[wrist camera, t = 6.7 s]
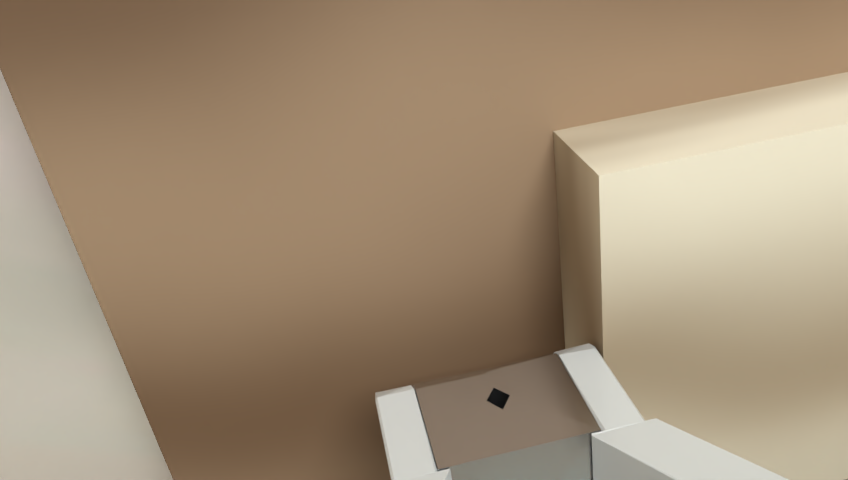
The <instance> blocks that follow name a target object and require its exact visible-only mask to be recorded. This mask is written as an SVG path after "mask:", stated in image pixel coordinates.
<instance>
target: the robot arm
mask: <svg viewBox="0 0 848 480" xmlns="http://www.w3.org/2000/svg"><path fill="white" fill-rule="evenodd" d="M375 402H376V406H377V411H378V416H379V421H380V426H381V431H382V436H383V441H384V446H385V451H386V456H387V461H388V466H389V471H390V476H391V480H789V479H787V478H784V477H782V476H780V475H778V474H776V473H774V472H771V471H769V470H767V469H765V468H763V467H761V466H758V465H756V464H754V463H752V462H750V461H748V460H745V459H743V458H741V457H739V456H737V455H735V454H732V453H730V452H728V451H726V450H724V449H722V448H719V447H717V446H715V445H713V444H711V443H709V442H706V441H704V440H702V439H700V438H698V437H696V436H693V435H691V434H689V433H687V432H685V431H683V430H680V429H678V428H676V427H674V426H672V425H670V424H667V423H665V422H663V421H661V420H659V419H657V418H655V419H651V420H646V421H645V420H644V418H643V417H642V415H641V414H640V412H639V411H638V409H637V408H636V406H635V405H634V403H633V402H632V400H631V399H630V397H629V396H628V395H627V393H626V392H625V390H624V389H623V387H622V386H621V384H620V383H619V381H618V380H617V378H616V377H615V375H614V374H613V372H612V371H611V369H610V368H609V367H608V365H607V364H606V362H605V361H604V359H603V358H602V356H601V355H600V353H599V352H598V350H597V349H596V347H595V346H593V345H591V344H589V343H587V344H584V345H580V346H576V347H572V348H568V349H564V350H560V351H556V352H554V353H553V354H548V355H544V356H540V357H535V358H531V359H527V360H523V361H519V362H514V363H510V364H506V365H502V366H498V367H493V368H489V369H484V370H479V371H474V372H469V373H464V374H460V375H455V376H450V377H445V378H440V379H435V380H431V381H426V382H421V383H416V384H413V387H412V386H411V385H409V386H404V387H400V388H395V389H390V390H386V391H381V392H376V393H375Z"/></svg>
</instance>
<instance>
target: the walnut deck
mask: <svg viewBox="0 0 848 480" xmlns="http://www.w3.org/2000/svg"><path fill="white" fill-rule="evenodd" d="M0 69H1V71H2V74H3V76H4V79H5V81H6V83H7V86H8V88H9V90H10V93H11V95H12V98H13V100H14V102H15V105H16V107H17V109H18V112H19V114H20V117H21V119H22V121H23V124H24V126H25V128H26V131H27V133H28V136H29V138H30V140H31V143H32V145H33V147H34V150H35V152H36V155H37V157H38V159H39V162H40V164H41V166H42V169H43V171H44V174H45V176H46V178H47V181H48V183H49V185H50V188H51V190H52V193H53V195H54V197H55V200H56V202H57V204H58V207H59V209H60V212H61V214H62V216H63V219H64V221H65V223H66V226H67V228H68V231H69V233H70V235H71V238H72V240H73V242H74V245H75V247H76V250H77V252H78V254H79V257H80V259H81V261H82V264H83V266H84V269H85V271H86V273H87V276H88V278H89V280H90V283H91V285H92V288H93V290H94V292H95V295H96V297H97V299H98V302H99V304H100V307H101V309H102V311H103V314H104V316H105V318H106V321H107V323H108V326H109V328H110V330H111V333H112V335H113V337H114V340H115V342H116V345H117V347H118V349H119V352H120V354H121V356H122V359H123V361H124V364H125V366H126V368H127V371H128V373H129V375H130V378H131V380H132V383H133V385H134V387H135V390H136V392H137V394H138V397H139V399H140V402H141V404H142V406H143V409H144V411H145V413H146V416H147V418H148V421H149V423H150V425H151V428H152V430H153V432H154V435H155V437H156V440H157V442H158V444H159V447H160V449H161V451H162V454H163V456H164V459H165V461H166V463H167V466H168V468H169V470H170V473H171V475H172V478H173V480H391V476H390V471H389V466H388V461H387V456H386V451H385V446H384V441H383V436H382V431H381V426H380V421H379V416H378V411H377V406H376V402H375V393H376V392H381V391H386V390H390V389H395V388H400V387H404V386H409V385H411V386H412V387H413V384H416V383H421V382H426V381H431V380H435V379H440V378H445V377H450V376H455V375H460V374H464V373H469V372H474V371H479V370H484V369H489V368H493V367H498V366H502V365H506V364H510V363H514V362H519V361H523V360H527V359H531V358H535V357H540V356H544V355H548V354H553V353H554V352H556V351H560V350H564V349H565V336H564V318H563V300H562V281H561V263H560V245H559V227H558V208H557V190H556V172H555V154H554V135H553V131H557V130H562V129H567V128H571V127H576V126H581V125H586V124H591V123H596V122H601V121H606V120H611V119H616V118H621V117H626V116H631V115H636V114H641V113H646V112H651V111H656V110H661V109H666V108H671V107H676V106H681V105H686V104H691V103H696V102H701V101H706V100H711V99H716V98H721V97H726V96H731V95H736V94H741V93H746V92H751V91H755V90H760V89H765V88H770V87H775V86H780V85H785V84H790V83H795V82H800V81H805V80H810V79H815V78H820V77H825V76H830V75H835V74H840V73H845V72H848V0H0ZM845 480H848V479H845Z"/></svg>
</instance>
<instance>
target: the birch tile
mask: <svg viewBox="0 0 848 480" xmlns="http://www.w3.org/2000/svg"><path fill="white" fill-rule="evenodd" d="M553 135H554V154H555V172H556V190H557V208H558V227H559V245H560V263H561V281H562V300H563V318H564V336H565V349H568V348H572V347H576V346H580V345H584V344H587V343H589V344H591V345H593V346H595V347H596V349H597V350H598V352H599V353H600V355H601V356H602V358H603V359H604V361H605V362H606V364H607V365H608V367H609V368H610V369H611V371H612V372H613V374H614V375H615V377H616V378H617V380H618V381H619V383H620V384H621V386H622V387H623V389H624V390H625V392H626V393H627V395H628V396H629V397H630V399H631V400H632V402H633V403H634V405H635V406H636V408H637V409H638V411H639V412H640V414H641V415H642V417H643V418H644V420H645V421H646V420H651V419H655V418H657V419H659V420H661V421H663V422H665V423H667V424H670V425H672V426H674V427H676V428H678V429H680V430H683V431H685V432H687V433H689V434H691V435H693V436H696V437H698V438H700V439H702V440H704V441H706V442H709V443H711V444H713V445H715V446H717V447H719V448H722V449H724V450H726V451H728V452H730V453H732V454H735V455H737V456H739V457H741V458H743V459H745V460H748V461H750V462H752V463H754V464H756V465H758V466H761V467H763V468H765V469H767V470H769V471H771V472H774V473H776V474H778V475H780V476H782V477H784V478H787V479H789V480H845V479H848V72H845V73H840V74H835V75H830V76H825V77H820V78H815V79H810V80H805V81H800V82H795V83H790V84H785V85H780V86H775V87H770V88H765V89H760V90H755V91H751V92H746V93H741V94H736V95H731V96H726V97H721V98H716V99H711V100H706V101H701V102H696V103H691V104H686V105H681V106H676V107H671V108H666V109H661V110H656V111H651V112H646V113H641V114H636V115H631V116H626V117H621V118H616V119H611V120H606V121H601V122H596V123H591V124H586V125H581V126H576V127H571V128H567V129H562V130H557V131H553Z"/></svg>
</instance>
